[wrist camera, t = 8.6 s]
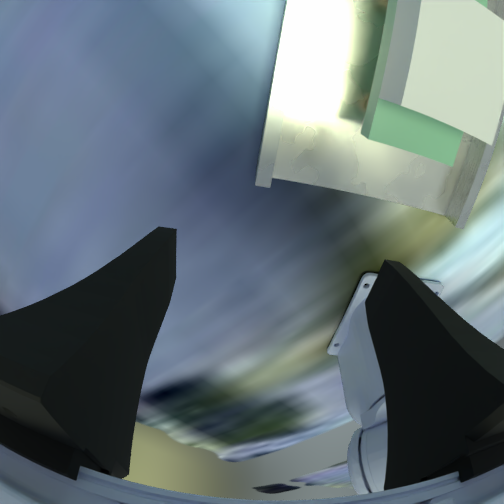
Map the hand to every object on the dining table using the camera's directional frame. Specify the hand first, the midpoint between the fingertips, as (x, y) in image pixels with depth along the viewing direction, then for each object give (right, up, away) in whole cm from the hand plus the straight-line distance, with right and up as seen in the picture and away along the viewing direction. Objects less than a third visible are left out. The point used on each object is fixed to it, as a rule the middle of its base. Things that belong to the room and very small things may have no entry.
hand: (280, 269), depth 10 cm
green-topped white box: (+7, +10, 0) cm, 12 cm away
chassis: (+8, +12, +3) cm, 14 cm away
